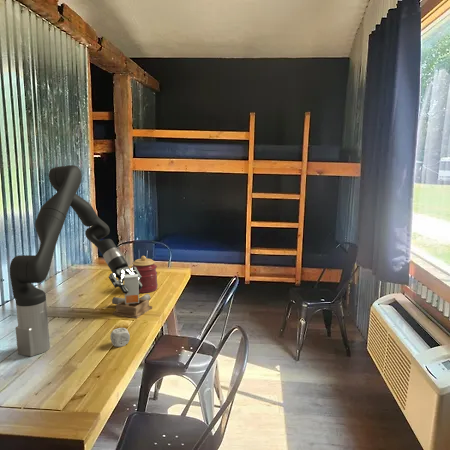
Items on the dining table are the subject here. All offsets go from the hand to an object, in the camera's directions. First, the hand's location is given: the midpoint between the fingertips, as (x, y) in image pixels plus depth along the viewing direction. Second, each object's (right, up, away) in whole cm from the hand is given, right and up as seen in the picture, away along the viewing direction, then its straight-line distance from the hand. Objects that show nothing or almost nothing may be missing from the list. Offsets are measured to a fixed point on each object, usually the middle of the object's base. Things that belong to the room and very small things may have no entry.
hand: (134, 290), depth 168 cm
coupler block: (-3, -9, +6) cm, 11 cm away
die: (+2, -14, -29) cm, 32 cm away
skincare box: (-1, -6, +2) cm, 6 cm away
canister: (-2, -5, +32) cm, 33 cm away
